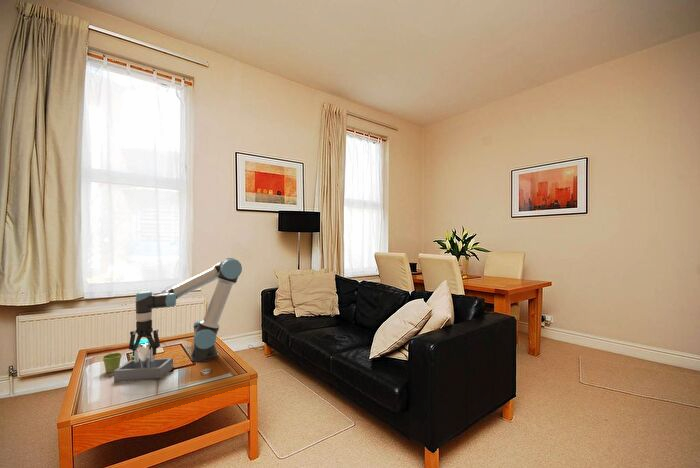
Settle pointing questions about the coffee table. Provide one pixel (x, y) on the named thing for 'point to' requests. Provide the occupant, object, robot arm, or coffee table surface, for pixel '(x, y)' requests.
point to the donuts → (142, 342)
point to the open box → (143, 371)
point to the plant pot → (112, 361)
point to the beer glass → (144, 355)
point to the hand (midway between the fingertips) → (144, 361)
